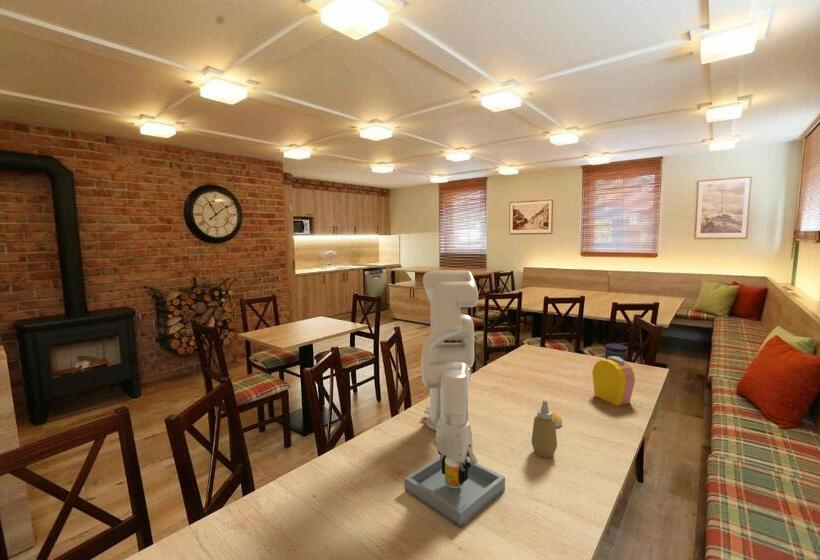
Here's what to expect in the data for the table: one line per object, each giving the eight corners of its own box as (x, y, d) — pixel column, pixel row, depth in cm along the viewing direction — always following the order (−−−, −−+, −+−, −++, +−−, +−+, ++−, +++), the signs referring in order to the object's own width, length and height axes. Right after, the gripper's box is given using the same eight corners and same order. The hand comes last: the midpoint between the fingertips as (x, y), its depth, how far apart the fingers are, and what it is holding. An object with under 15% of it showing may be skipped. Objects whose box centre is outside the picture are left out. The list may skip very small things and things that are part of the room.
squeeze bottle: (540, 462, 123) (541, 408, 121) (526, 449, 131) (527, 397, 128) (562, 458, 125) (563, 404, 123) (547, 445, 133) (548, 394, 131)
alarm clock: (634, 403, 163) (637, 361, 161) (620, 407, 160) (622, 364, 158) (605, 390, 177) (606, 351, 175) (591, 393, 174) (593, 354, 172)
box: (404, 491, 110) (404, 477, 110) (450, 461, 124) (450, 449, 124) (460, 528, 96) (460, 513, 96) (504, 490, 110) (505, 477, 109)
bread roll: (551, 415, 154) (552, 406, 154) (565, 426, 146) (565, 416, 145) (533, 418, 152) (533, 408, 152) (545, 429, 144) (546, 419, 143)
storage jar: (599, 372, 200) (601, 344, 198) (615, 370, 202) (616, 342, 201) (615, 379, 190) (616, 349, 188) (631, 377, 193) (632, 347, 191)
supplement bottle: (441, 482, 110) (440, 450, 109) (453, 474, 114) (453, 443, 113) (456, 491, 106) (455, 458, 105) (468, 482, 110) (468, 450, 109)
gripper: (422, 410, 111) (423, 469, 113) (471, 431, 99) (471, 497, 101) (440, 402, 116) (440, 458, 118) (488, 421, 104) (487, 484, 106)
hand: (454, 476), depth 110 cm, fingers closed on supplement bottle, 5 cm apart
